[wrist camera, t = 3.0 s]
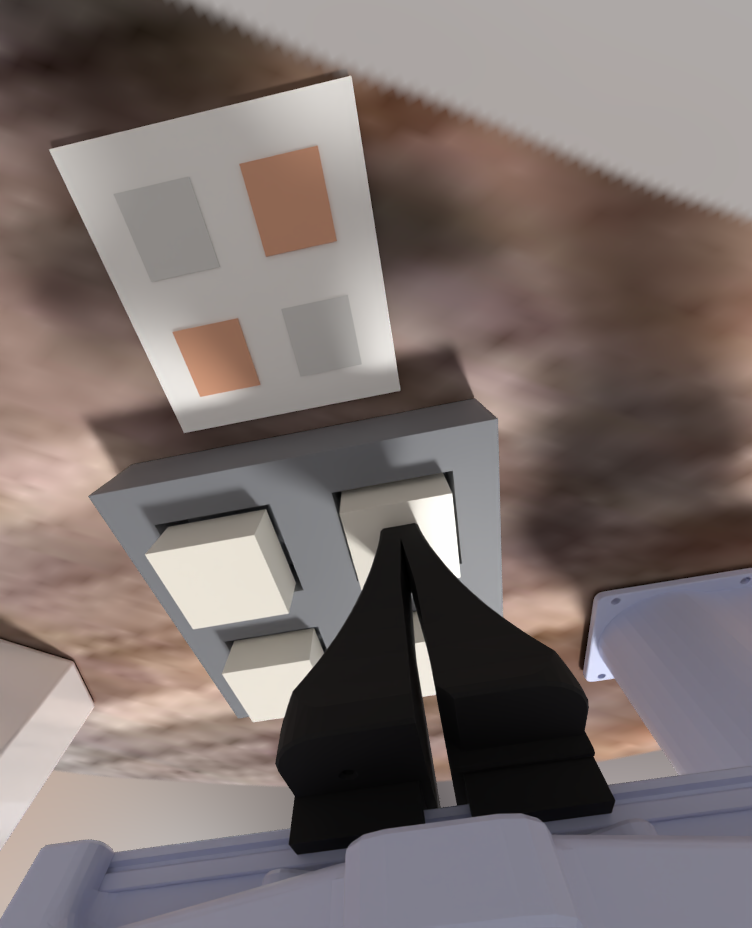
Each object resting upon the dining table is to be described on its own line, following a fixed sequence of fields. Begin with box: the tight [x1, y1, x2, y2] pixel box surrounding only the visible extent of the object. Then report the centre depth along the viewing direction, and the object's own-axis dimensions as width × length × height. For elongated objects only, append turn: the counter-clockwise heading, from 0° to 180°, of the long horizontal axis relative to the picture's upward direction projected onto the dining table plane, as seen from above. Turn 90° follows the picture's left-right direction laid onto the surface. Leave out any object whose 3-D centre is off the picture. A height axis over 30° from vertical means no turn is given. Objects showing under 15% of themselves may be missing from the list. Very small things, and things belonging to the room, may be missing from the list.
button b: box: [413, 611, 436, 697], centre depth 16 cm, size 4×4×2 cm
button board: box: [88, 399, 503, 718], centre depth 16 cm, size 15×15×3 cm
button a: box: [339, 473, 461, 590], centre depth 13 cm, size 4×4×2 cm
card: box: [49, 76, 401, 433], centre depth 12 cm, size 9×9×1 cm
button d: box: [222, 628, 324, 722], centre depth 16 cm, size 4×4×2 cm
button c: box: [145, 509, 296, 629], centre depth 13 cm, size 4×4×2 cm
